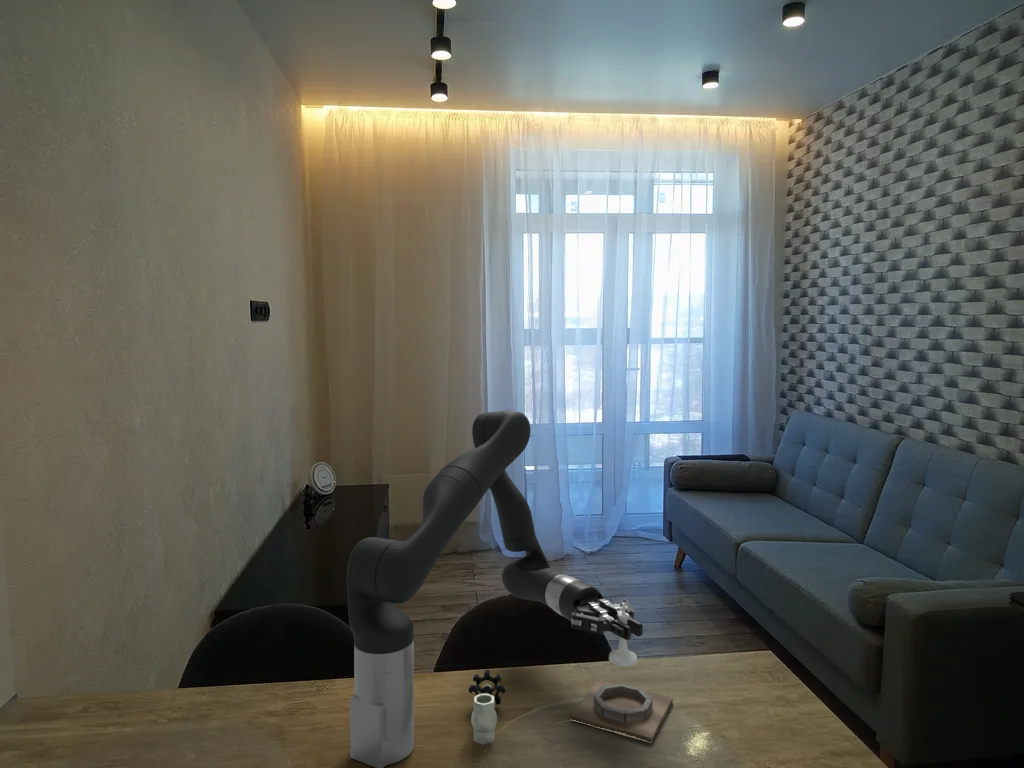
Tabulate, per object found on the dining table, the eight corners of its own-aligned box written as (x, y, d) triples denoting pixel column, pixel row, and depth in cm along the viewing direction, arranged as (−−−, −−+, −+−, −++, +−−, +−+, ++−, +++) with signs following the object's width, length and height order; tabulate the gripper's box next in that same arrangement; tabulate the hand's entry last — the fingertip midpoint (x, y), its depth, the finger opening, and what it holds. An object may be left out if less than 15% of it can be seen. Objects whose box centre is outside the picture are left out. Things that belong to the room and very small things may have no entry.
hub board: (651, 744, 102) (651, 728, 102) (570, 721, 109) (570, 706, 109) (672, 703, 114) (672, 689, 114) (598, 684, 121) (598, 671, 121)
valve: (504, 746, 102) (505, 706, 114) (504, 705, 101) (505, 669, 113) (462, 746, 102) (468, 705, 114) (462, 705, 101) (468, 669, 113)
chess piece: (603, 656, 113) (603, 600, 112) (626, 651, 115) (627, 596, 114) (619, 668, 108) (619, 611, 108) (642, 663, 110) (643, 606, 110)
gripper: (544, 586, 119) (604, 619, 105) (600, 573, 127) (665, 602, 112) (543, 626, 120) (604, 664, 105) (600, 610, 127) (664, 644, 112)
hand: (635, 632), depth 109 cm, fingers closed on chess piece
